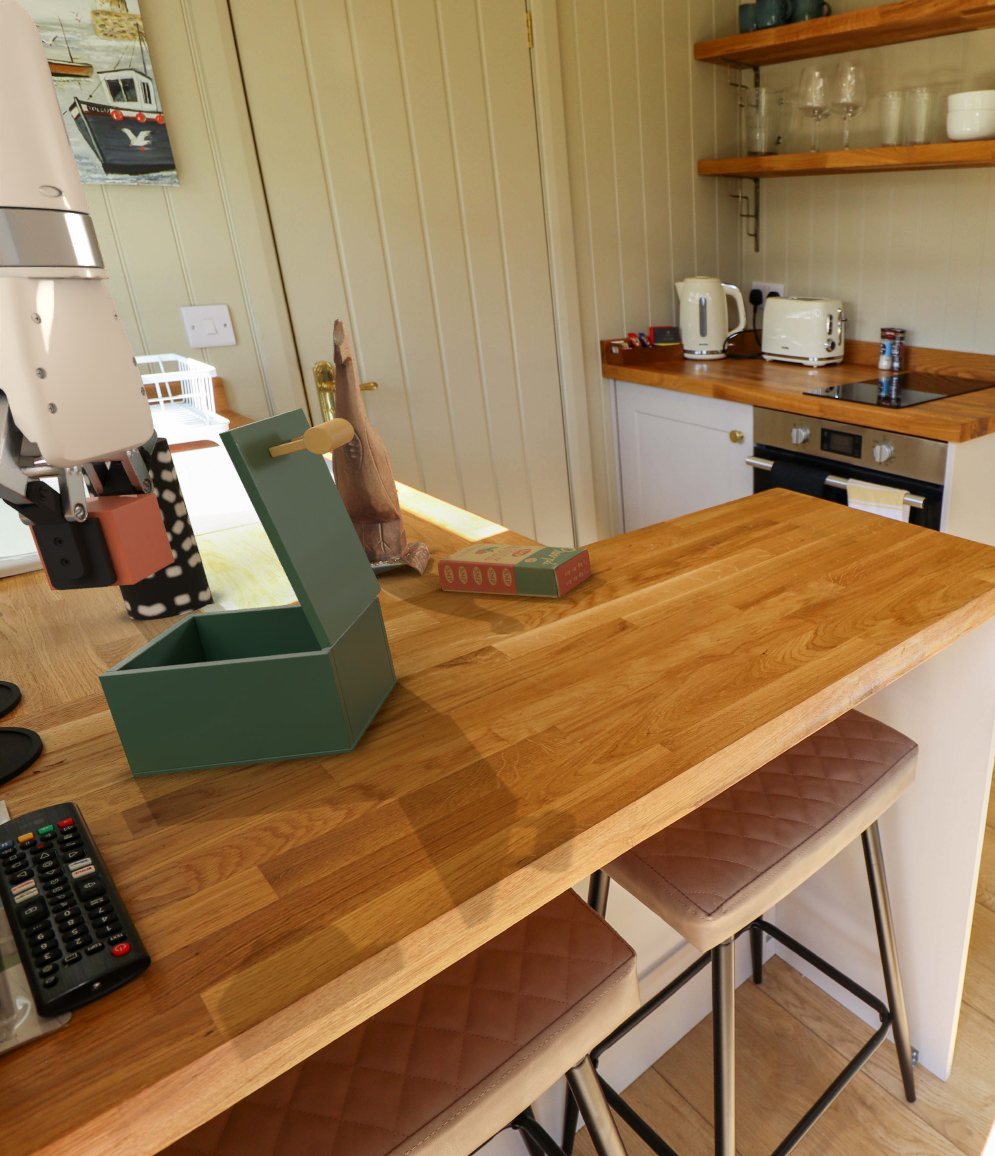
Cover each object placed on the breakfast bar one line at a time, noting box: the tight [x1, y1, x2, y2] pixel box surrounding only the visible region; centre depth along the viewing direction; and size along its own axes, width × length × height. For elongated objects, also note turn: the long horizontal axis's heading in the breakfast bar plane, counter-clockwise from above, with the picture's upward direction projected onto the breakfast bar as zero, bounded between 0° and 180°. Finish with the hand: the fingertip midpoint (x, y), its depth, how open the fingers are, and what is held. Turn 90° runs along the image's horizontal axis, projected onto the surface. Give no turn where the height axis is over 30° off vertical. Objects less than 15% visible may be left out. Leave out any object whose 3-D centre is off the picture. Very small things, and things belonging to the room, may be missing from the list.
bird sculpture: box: [331, 318, 431, 576], centre depth 103 cm, size 11×12×32 cm
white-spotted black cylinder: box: [81, 436, 214, 621], centre depth 95 cm, size 8×8×20 cm
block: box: [28, 493, 174, 591], centre depth 50 cm, size 4×4×4 cm
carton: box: [437, 542, 592, 599], centre depth 100 cm, size 8×16×4 cm, turn 74°
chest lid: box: [218, 407, 382, 649], centre depth 64 cm, size 16×13×5 cm
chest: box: [98, 596, 398, 778], centre depth 67 cm, size 16×13×9 cm
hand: (113, 569), depth 50 cm, fingers closed on block, 4 cm apart
